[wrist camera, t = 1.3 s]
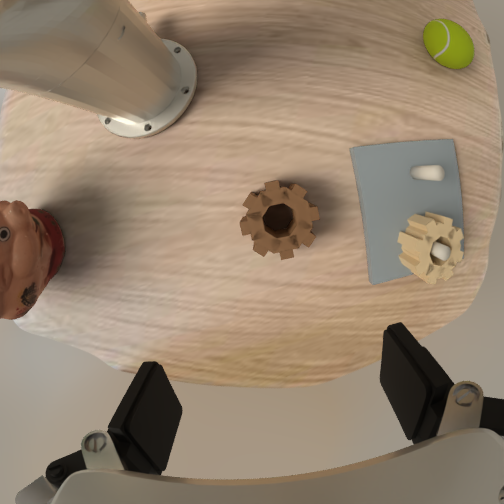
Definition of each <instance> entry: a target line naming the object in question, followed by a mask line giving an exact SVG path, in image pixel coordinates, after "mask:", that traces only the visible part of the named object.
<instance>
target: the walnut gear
mask: <svg viewBox="0 0 504 504" xmlns="http://www.w3.org/2000/svg"><path fill="white" fill-rule="evenodd" d="M265 187H266V190H264V191H260V193H259V195H258V196H257V195H256V194H254V193H253V192H251V193H250V194H249V195H248V197H247V199H246V200H245V202H244V203H243V206H245V207H246V208H248V209H249V210H248V212H247V214H246V216H245V217H243V218H242V219H241V221H240V227H241V231H242V235H248V234H251V237H252V240H253V241H254V246H253V250H254V251H255V252H257V253H259V254H260V255H262V256H263V257H264V256H265V255H266V253H267V252H268V250H269V251H271V252H272V253H278V252H280V256H281V260H283V259H288V258H293V257H294V254H293V249H297V248H299V247H300V245H301V244H302V243H303V244H304V245H306V246H307V247H309V246H310V245H311V244H312V242H313V241H314V239H315V238H316V236H315V235H314V234H313V233H312V232H311V229H312V228H313V225H312V221H315V220H320V218H319V213H318V207H317V206H315V205H313V204H311V203H308V201H306V200H305V199H303V197H304V196H305V194H306V193H307V191H306V190H305V189H303V188H302V187H300V186H299V185H297V184H291V185H290V187H289V188H287V187H280V186H279V182H278V180H277V181H271V182H267V183H265ZM281 203H284V204H286V205H287V206H289V207H290V208H291V211H292V215H293V219H292V221H291V222H290V224H289V225H288V227H287V228H285V229H280V230H273V229H272V228H270V227H268V226H267V225H265V223H264V219H263V215H264V214H265V212H266V211H267V209H268V208H269V206H271V205H276V204H281Z"/></svg>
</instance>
